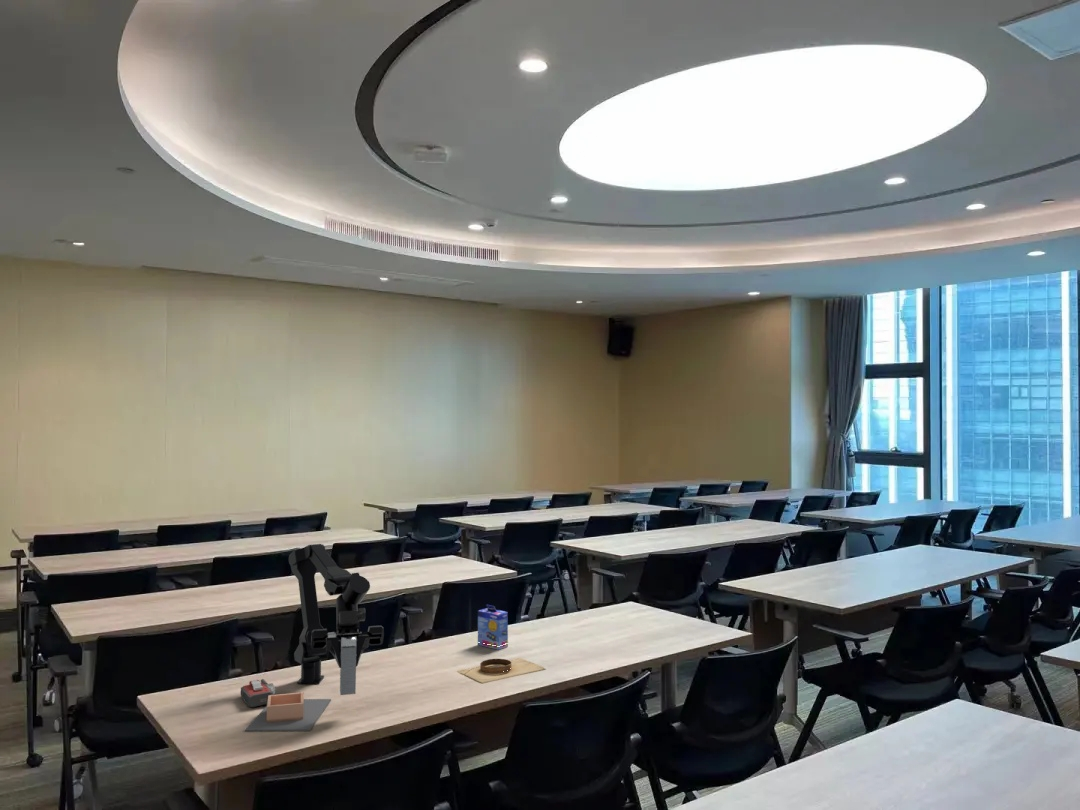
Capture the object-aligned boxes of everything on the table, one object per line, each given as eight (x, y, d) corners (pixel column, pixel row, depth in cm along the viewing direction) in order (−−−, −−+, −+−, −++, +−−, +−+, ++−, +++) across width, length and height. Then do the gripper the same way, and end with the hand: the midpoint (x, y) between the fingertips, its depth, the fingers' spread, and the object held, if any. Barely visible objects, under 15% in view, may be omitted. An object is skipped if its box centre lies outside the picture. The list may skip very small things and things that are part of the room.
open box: (268, 710, 204) (268, 695, 204) (303, 707, 207) (303, 692, 207) (266, 722, 196) (266, 706, 196) (303, 719, 198) (303, 703, 198)
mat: (272, 700, 213) (272, 699, 213) (331, 700, 213) (331, 699, 214) (244, 731, 191) (244, 729, 191) (310, 731, 192) (310, 729, 192)
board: (480, 686, 228) (480, 675, 229) (453, 673, 241) (453, 663, 241) (546, 671, 244) (546, 661, 244) (518, 660, 256) (518, 650, 256)
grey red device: (283, 702, 210) (266, 684, 227) (283, 685, 210) (265, 669, 227) (249, 709, 205) (234, 690, 222) (249, 692, 205) (234, 674, 222)
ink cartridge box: (476, 645, 270) (476, 603, 271) (486, 642, 275) (487, 601, 275) (498, 650, 265) (498, 607, 265) (508, 646, 269) (508, 604, 270)
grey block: (339, 690, 203) (341, 635, 204) (354, 689, 204) (355, 635, 205) (340, 695, 200) (341, 639, 200) (355, 693, 201) (356, 638, 201)
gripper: (312, 599, 204) (311, 653, 193) (384, 595, 209) (387, 647, 198) (311, 622, 211) (310, 675, 200) (380, 618, 217) (383, 669, 206)
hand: (348, 666), depth 201 cm, fingers closed on grey block, 4 cm apart
